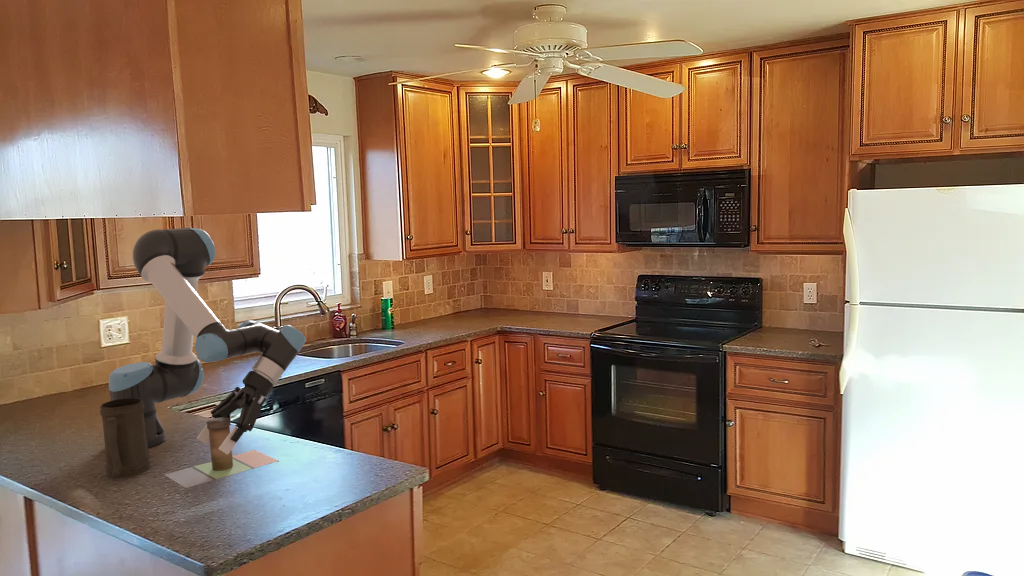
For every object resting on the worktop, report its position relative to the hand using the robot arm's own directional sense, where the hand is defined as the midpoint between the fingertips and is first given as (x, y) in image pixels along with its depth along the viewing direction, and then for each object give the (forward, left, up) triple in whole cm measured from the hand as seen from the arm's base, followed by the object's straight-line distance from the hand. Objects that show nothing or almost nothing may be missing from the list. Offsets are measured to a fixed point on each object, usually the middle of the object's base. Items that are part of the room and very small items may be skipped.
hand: (211, 446), depth 184 cm
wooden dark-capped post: (0, +2, -6) cm, 7 cm away
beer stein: (-16, -16, -8) cm, 24 cm away
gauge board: (0, +2, -8) cm, 8 cm away
